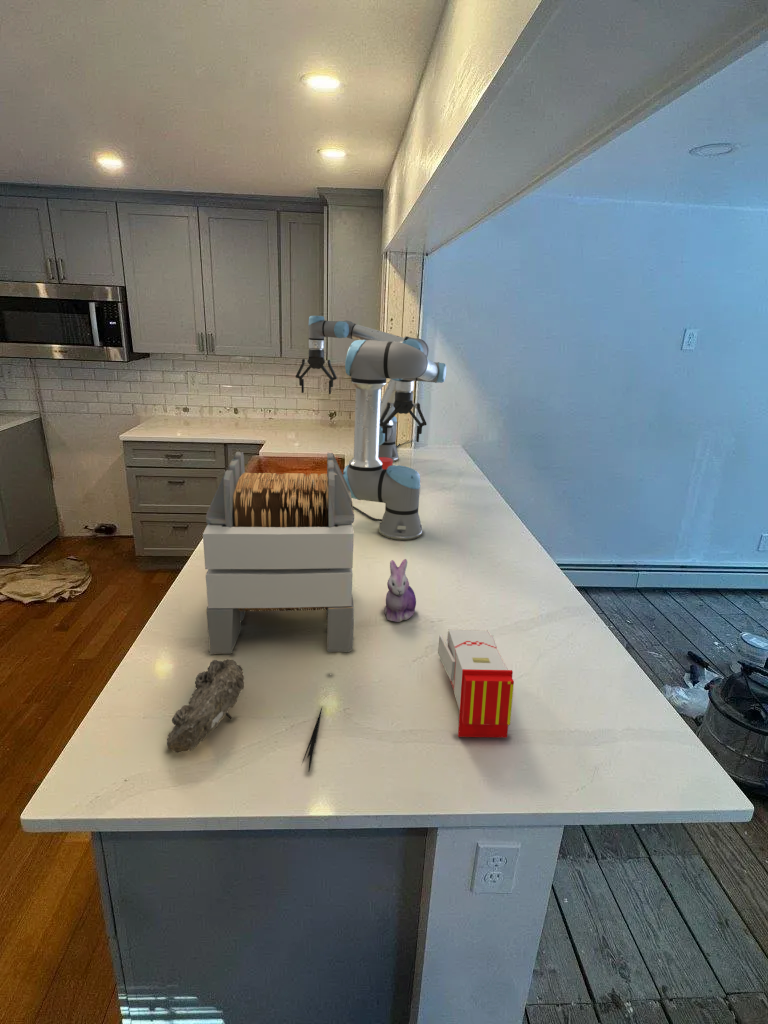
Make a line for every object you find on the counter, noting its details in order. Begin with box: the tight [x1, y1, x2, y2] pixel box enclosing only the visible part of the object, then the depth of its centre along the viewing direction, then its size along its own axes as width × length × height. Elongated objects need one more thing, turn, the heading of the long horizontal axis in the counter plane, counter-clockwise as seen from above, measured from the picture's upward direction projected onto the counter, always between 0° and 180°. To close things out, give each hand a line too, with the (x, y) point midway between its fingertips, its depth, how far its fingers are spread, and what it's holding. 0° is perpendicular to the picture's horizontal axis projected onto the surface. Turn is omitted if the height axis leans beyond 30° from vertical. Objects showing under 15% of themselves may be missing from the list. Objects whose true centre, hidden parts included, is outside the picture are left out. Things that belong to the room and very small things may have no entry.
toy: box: [437, 628, 515, 738], centre depth 117 cm, size 12×13×30 cm
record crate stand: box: [202, 451, 355, 655], centre depth 137 cm, size 34×33×41 cm
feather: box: [301, 673, 332, 771], centre depth 108 cm, size 2×28×2 cm
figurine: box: [384, 558, 417, 623], centre depth 145 cm, size 9×10×15 cm
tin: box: [379, 457, 394, 470], centre depth 255 cm, size 8×8×11 cm
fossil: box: [166, 658, 245, 754], centre depth 106 cm, size 22×10×15 cm
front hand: (401, 441), depth 242 cm, fingers open, 13 cm apart
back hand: (316, 393), depth 284 cm, fingers open, 13 cm apart
